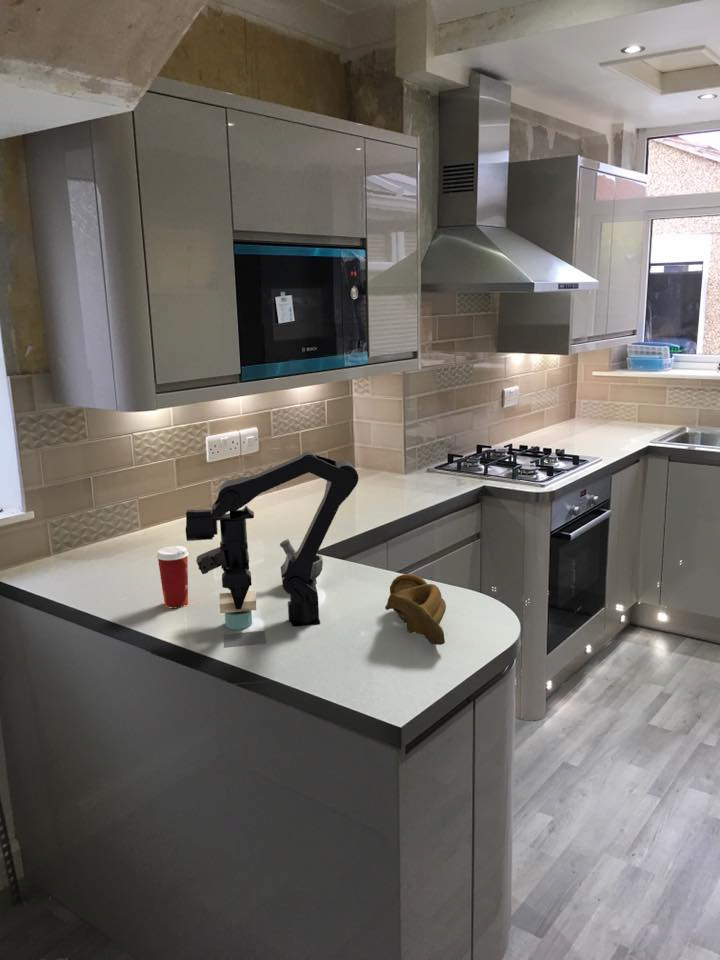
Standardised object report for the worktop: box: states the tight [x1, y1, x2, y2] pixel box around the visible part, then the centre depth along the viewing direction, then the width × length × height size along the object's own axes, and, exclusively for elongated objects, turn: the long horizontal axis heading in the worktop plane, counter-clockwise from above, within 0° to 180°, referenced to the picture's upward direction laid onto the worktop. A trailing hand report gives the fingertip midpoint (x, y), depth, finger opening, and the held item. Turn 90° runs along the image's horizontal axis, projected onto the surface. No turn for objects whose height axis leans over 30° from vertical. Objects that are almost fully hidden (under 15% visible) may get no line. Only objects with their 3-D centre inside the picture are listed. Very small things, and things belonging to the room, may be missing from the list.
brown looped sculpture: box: [384, 573, 447, 646], centre depth 173 cm, size 18×13×22 cm
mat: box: [223, 630, 267, 649], centre depth 171 cm, size 9×7×1 cm
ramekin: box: [224, 610, 253, 631], centre depth 179 cm, size 6×6×4 cm
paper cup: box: [156, 545, 190, 608], centre depth 192 cm, size 8×8×14 cm
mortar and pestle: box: [279, 538, 324, 584], centre depth 204 cm, size 11×9×12 cm
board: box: [219, 590, 257, 614], centre depth 177 cm, size 8×6×2 cm
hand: (238, 603), depth 177 cm, fingers closed on board, 6 cm apart
